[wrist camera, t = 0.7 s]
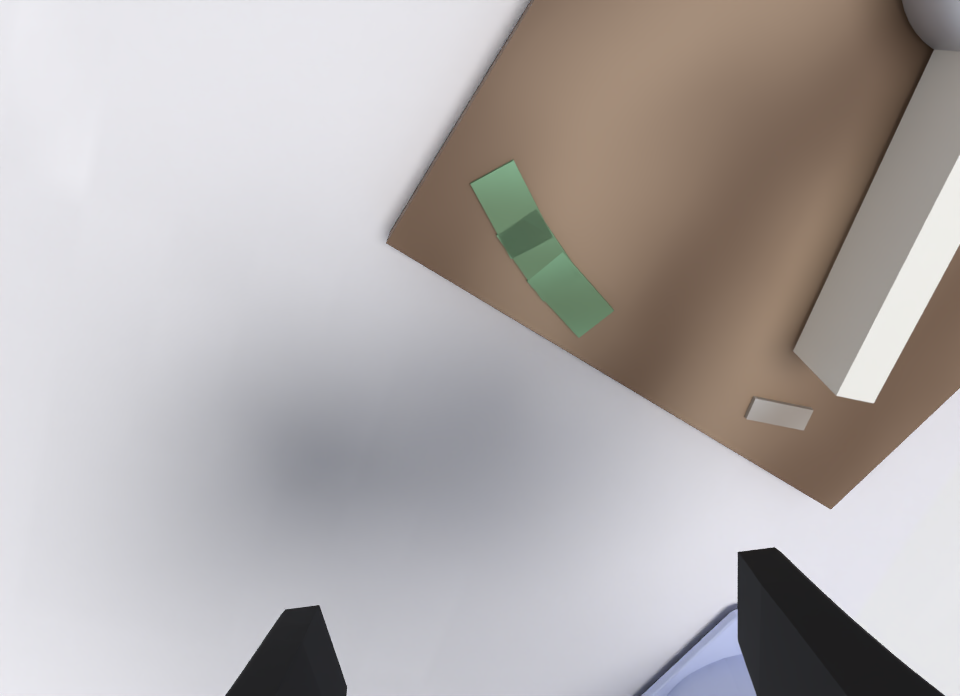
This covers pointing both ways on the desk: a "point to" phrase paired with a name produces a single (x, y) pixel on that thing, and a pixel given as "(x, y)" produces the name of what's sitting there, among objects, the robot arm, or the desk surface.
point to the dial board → (691, 211)
